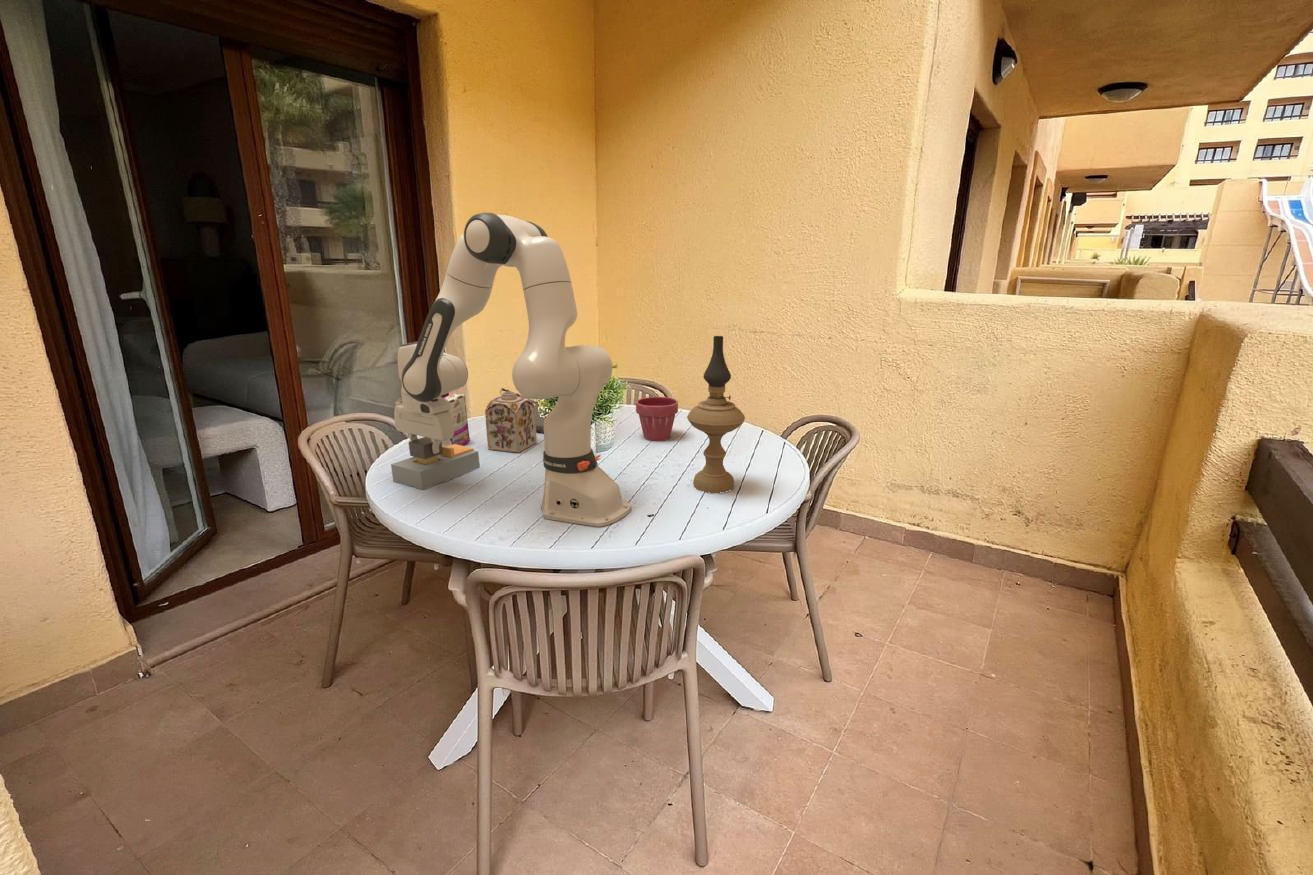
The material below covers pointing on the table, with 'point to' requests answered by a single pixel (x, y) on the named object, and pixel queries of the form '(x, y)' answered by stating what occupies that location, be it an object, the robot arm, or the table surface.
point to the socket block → (433, 469)
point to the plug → (424, 450)
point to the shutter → (455, 450)
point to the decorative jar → (510, 423)
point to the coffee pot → (537, 417)
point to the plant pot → (657, 416)
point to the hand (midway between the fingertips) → (426, 450)
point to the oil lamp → (715, 423)
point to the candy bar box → (458, 420)
